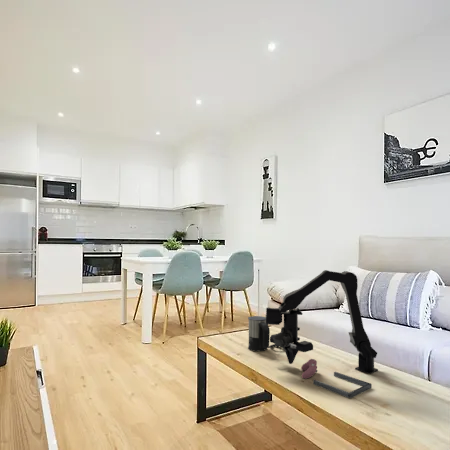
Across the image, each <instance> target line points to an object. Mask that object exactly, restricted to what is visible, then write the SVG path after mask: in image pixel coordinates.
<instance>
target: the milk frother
mask: <svg viewBox="0 0 450 450" xmlns="http://www.w3.org/2000/svg"><path fill="white" fill-rule="evenodd" d="M247 319H248V346H247V349H248V350H249V351H251V352H252V351H253V352H264V351H267V350H268V349H271V348H275V347H276V348H277V349H278V348H279V347H280V346H276V345H275V344H274V343H272V344H271V345H270V337H271V335H270V332H271V330H270V326H269V325H267V324H266V316H262V315H261V316H260V315H256V316H255V315H253V316H248V317H247ZM280 348H281V347H280Z"/></svg>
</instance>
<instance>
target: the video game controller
mask: <svg viewBox="0 0 450 450" xmlns="http://www.w3.org/2000/svg"><path fill="white" fill-rule="evenodd" d="M317 363H318V361H317V360H316V359H314V358H309V359H308V360H307V361H306V362H305V363H303V364H302V365H301V368H300V369H301V371H302V373H301V377H302V379H309V378H312V377H313V376H314V375H315V374H316V373H318V371H319V370H318V365H317Z"/></svg>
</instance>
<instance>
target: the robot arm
mask: <svg viewBox="0 0 450 450" xmlns="http://www.w3.org/2000/svg"><path fill="white" fill-rule="evenodd" d="M329 281H331V282H335V283H340V285H341V289H342V290H343V292H344V293H345V296H346V302H347V306H348V312H349V318H350V322H351V323H350V324H351V331H349V332H348V336H349V343H351V345H352V346H353V347H354V348H355V349H356V350H357V352H358V359H357V360H358V365H357V366H356V367H355V368H354V369H355V371H359V372H362V373H366V374H370V375H371V374H372V373H375V372H377V371H379V369H378V368H375V359H376V358H377V355H378V352H377V351H376V350H375V349H374V348H373V347H372V344H371V341H370V338H369V336H368V334H367V332H366V330H365V328H364V324H363V320H362V319H363V318H362V313H361V309H360V304H359V300H358V288H359V287H358V276H357V275H356V274H355V273H353V272H351V271H346V270H345V271H342V272H339V271H338V272H336V271H332V270H327V269H326V270H325V269H324V270H323V271H322V272H320V273H319V274H318V275H317V276H315V277H314V278H313V279H311V280H309V281H308V282H307V283H306V284H304V285H302V287H300V288H298V289H296V290H292V291H291V292H288V293H286V294H285V295H284V296H283V299H282V302H281V304H280V305H279V306H278V307H274V308H273V307H266V309H265V311H266V312H265V313H266V314H265V317H266V324H267V325H268V326H269V325H271V326H278V325H280V324H282V323H283V326H281V328H280V332H278V333H275V334H271V335H270V336H269V343H272V344H275V345H276V346H280V348H281V349H283V350H284V352H285V356H286V358H287V361H288V364H289V365H292V364H293V363H294V361H295V360H296V359H295V358H296V356H297V354H298V353H299V352H302V353H307V352H310V351H313V350H314V344H313V343H312V342H311V341H306V340H303V341H300V339H301V338H300V337H299V334H298V333H299V331H300V330H301V329H300V328H301V327H299V326H298V325H299V324H298V321H299V319H298V318H299V317H298V316H302V315H303V312H302V310H300V308H299V306H300V305H301V304H302V302H303V301H304V300H305V299H306V298H307V297H308V296H309V295H311V294H312V293H313V292H315V291H317V290H318V289H319V288H321V287H322V286H323V285H324V284H326V283H327V282H329ZM276 346H275V347H276Z"/></svg>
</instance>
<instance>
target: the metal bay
mask: <svg viewBox="0 0 450 450" xmlns="http://www.w3.org/2000/svg"><path fill="white" fill-rule="evenodd" d="M333 376H334V377H336V378H337V379H342V380H345V381H347V382H350V383H352V384H356V385H359V386H360V387H358V388H356V389H354V390H352V391H350V392H349V391H347V390H344V389H341V388H339V387H336V386H333V385H331V384H327V383H325V382H322V381H319V380H318V379H312V380H313V381H312V384H313V385H314V386H316V387H320V388H322V389H325V390H327V391H330V392H332V393H335V394H337V395H340V396H343V397H345V398H347V399H352V398H355V397H357V396H358V395H361V394H363V393H365V392H367V391H369V390H370V389H372V387H373V386H372V385H373V384H372V383H370V382H367V381H365V380H362V379H358V378H356V377H352V376H350V375H348V374H347V375H346V374H343V373H341V372H337V371H333Z"/></svg>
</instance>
